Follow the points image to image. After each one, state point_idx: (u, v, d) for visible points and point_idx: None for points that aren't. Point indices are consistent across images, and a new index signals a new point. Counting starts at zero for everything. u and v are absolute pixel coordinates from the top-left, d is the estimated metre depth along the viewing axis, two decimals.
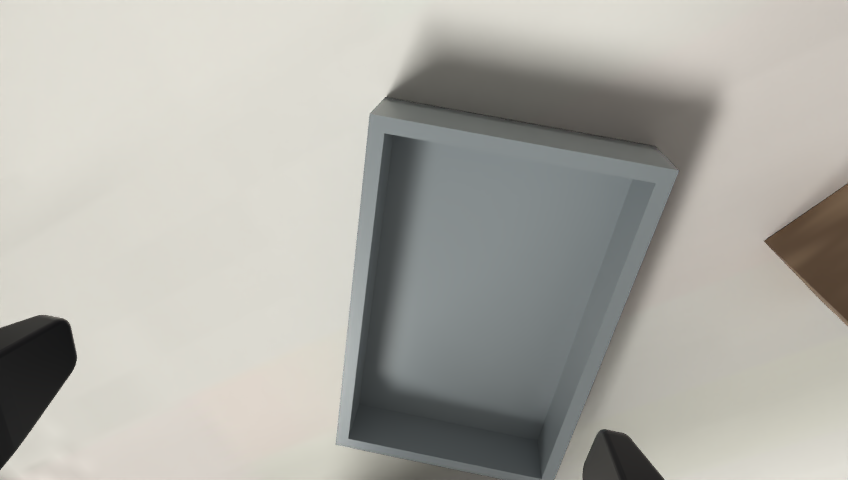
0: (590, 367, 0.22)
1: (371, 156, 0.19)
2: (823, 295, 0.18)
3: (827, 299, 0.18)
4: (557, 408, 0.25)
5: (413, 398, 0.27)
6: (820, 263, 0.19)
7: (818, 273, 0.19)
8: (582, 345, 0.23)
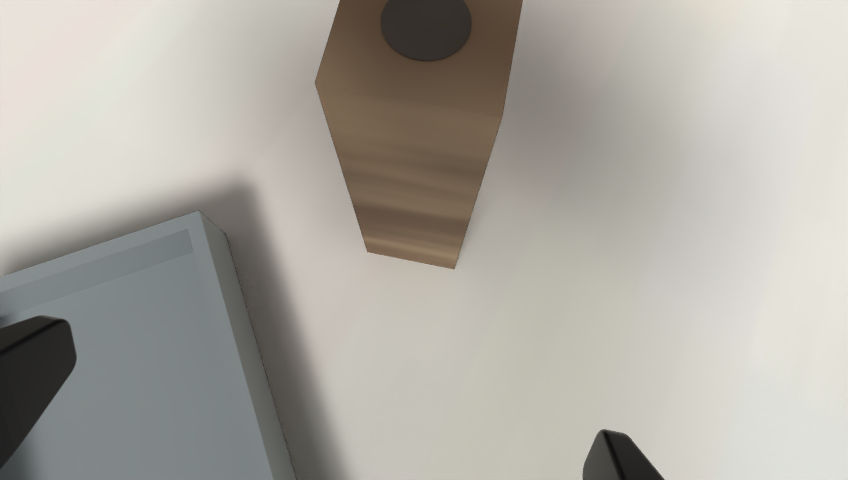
0: (251, 441, 0.18)
1: None
2: None
3: (357, 216, 0.19)
4: None
5: None
6: None
7: None
8: None
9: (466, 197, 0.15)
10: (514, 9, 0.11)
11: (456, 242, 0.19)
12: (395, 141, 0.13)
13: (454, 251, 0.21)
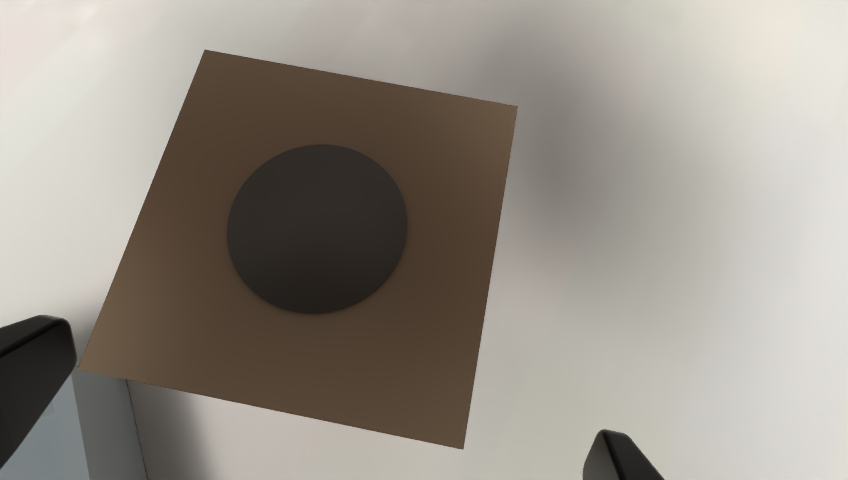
0: None
1: None
2: None
3: None
4: None
5: None
6: None
7: None
8: None
9: None
10: (491, 193, 0.06)
11: None
12: None
13: None
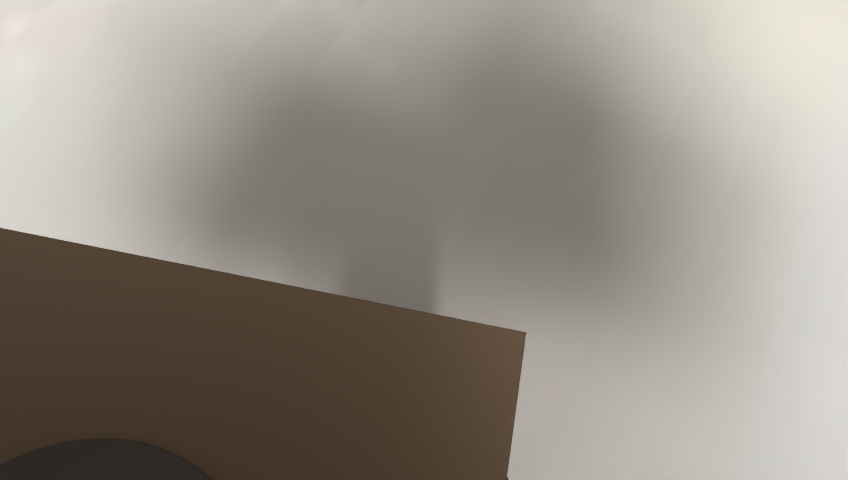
0: None
1: None
2: None
3: None
4: None
5: None
6: None
7: None
8: None
9: None
10: None
11: None
12: None
13: None
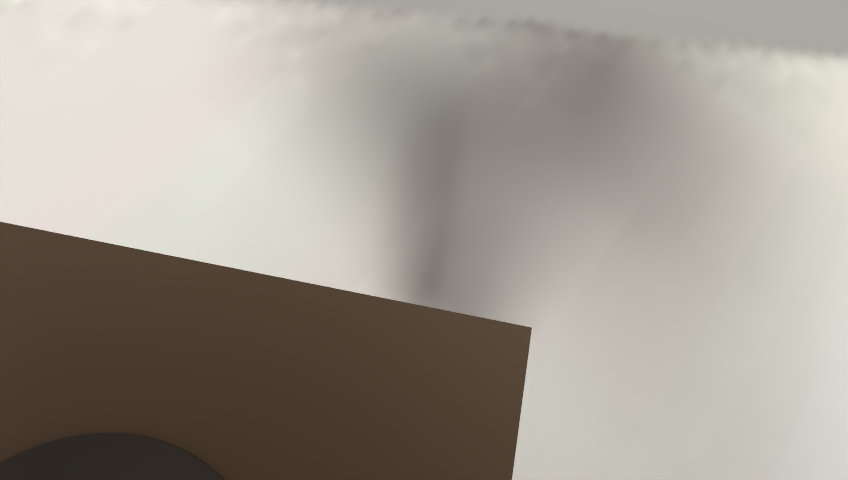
0: None
1: None
2: None
3: None
4: None
5: None
6: None
7: None
8: None
9: None
10: None
11: None
12: None
13: None
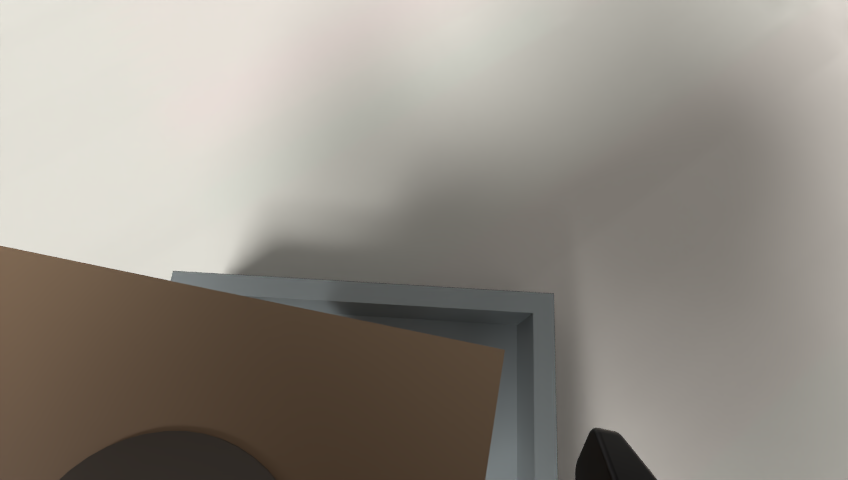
0: None
1: None
2: None
3: None
4: None
5: None
6: None
7: None
8: None
9: None
10: None
11: None
12: None
13: None
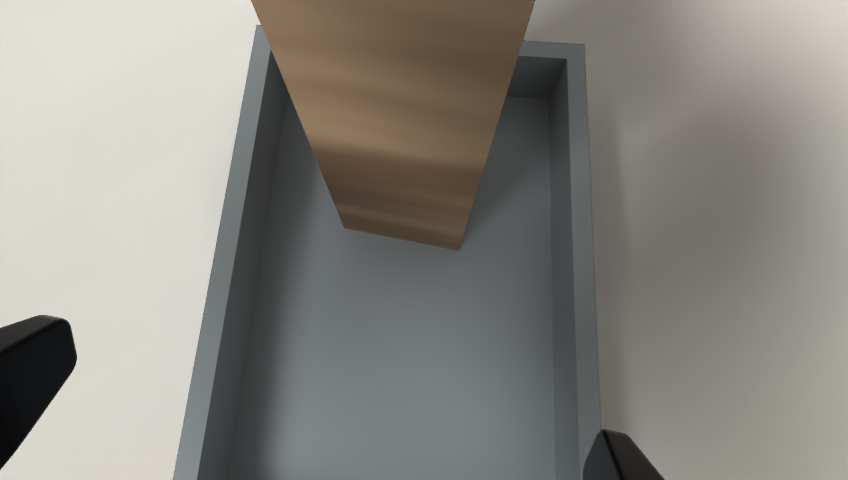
0: (583, 314, 0.15)
1: (256, 64, 0.17)
2: (323, 174, 0.14)
3: (322, 170, 0.13)
4: (565, 454, 0.15)
5: None
6: None
7: None
8: (563, 311, 0.16)
9: (481, 122, 0.09)
10: None
11: (462, 208, 0.14)
12: None
13: (458, 224, 0.15)
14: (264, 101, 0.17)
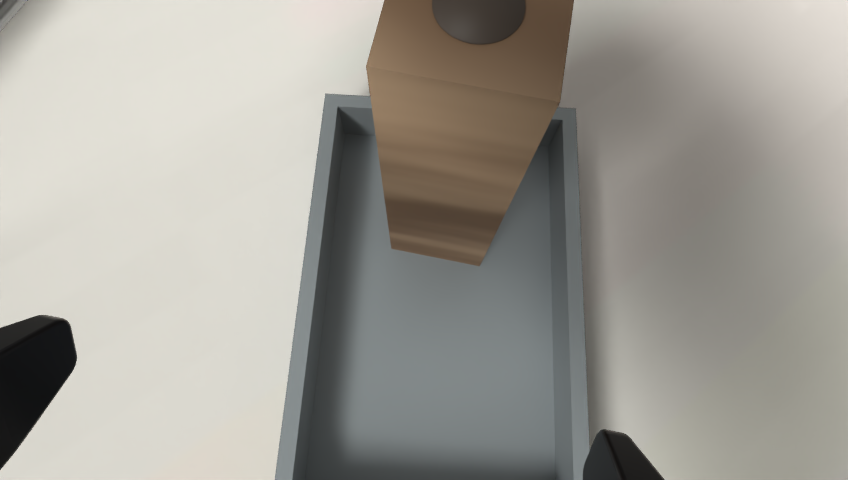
0: (574, 314, 0.20)
1: (326, 125, 0.22)
2: (386, 213, 0.19)
3: (386, 211, 0.19)
4: (562, 418, 0.20)
5: (378, 469, 0.20)
6: None
7: None
8: (560, 312, 0.21)
9: (506, 189, 0.15)
10: None
11: (487, 237, 0.19)
12: (441, 129, 0.12)
13: (482, 248, 0.20)
14: (332, 153, 0.22)
